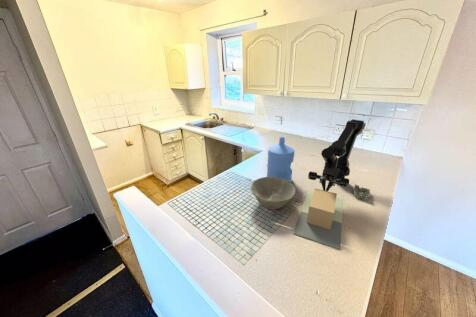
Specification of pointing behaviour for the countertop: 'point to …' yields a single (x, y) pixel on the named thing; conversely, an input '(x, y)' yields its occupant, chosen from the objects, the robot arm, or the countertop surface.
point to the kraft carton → (322, 208)
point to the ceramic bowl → (273, 192)
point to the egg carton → (362, 193)
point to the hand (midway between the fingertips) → (324, 195)
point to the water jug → (280, 161)
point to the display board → (317, 232)
